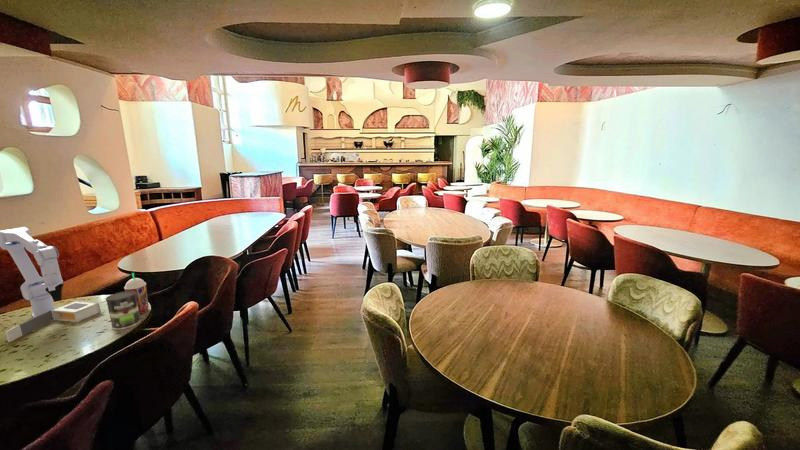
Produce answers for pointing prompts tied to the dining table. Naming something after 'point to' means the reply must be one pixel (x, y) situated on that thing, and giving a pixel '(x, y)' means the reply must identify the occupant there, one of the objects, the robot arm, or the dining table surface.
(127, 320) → the coffee can
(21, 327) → the side door
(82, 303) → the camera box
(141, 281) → the smoothie
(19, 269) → the robot arm
